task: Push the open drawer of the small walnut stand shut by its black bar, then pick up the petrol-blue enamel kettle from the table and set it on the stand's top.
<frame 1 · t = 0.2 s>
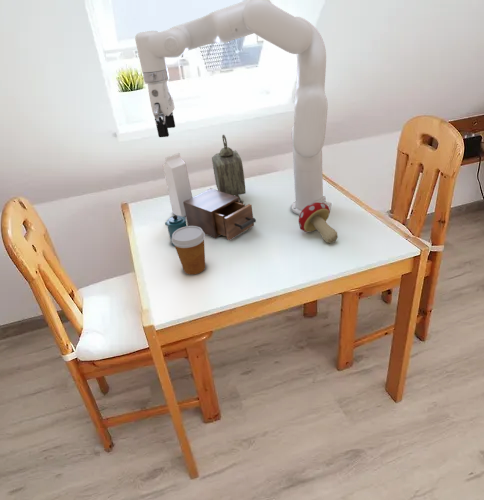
hand: (167, 132, 143), 31 cm above the table, tool pointing down, fingers open, 9 cm apart
kettle: (180, 242, 144), on the table
milk: (184, 213, 162), on the table
disposable coffee cup: (194, 269, 129), on the table
decorative mushroom: (318, 236, 138), on the table
green bell: (232, 200, 167), on the table
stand: (215, 224, 151), on the table
drawer: (230, 218, 144), point 5 cm above the table, slide at 5.0 cm
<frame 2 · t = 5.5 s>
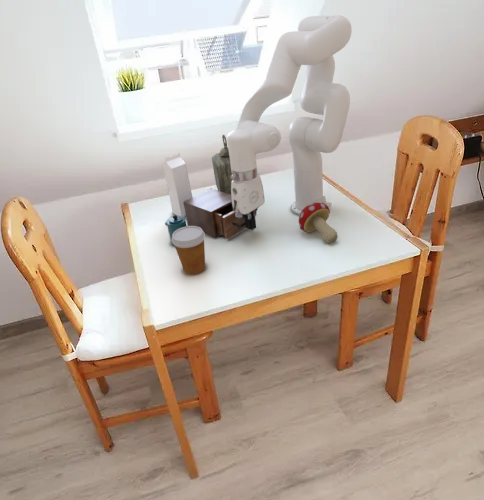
hand: (250, 227, 138), 4 cm above the table, tool pointing down, fingers closed
drawer: (228, 218, 144), point 5 cm above the table, slide at 4.0 cm, touching gripper
everything else where it was.
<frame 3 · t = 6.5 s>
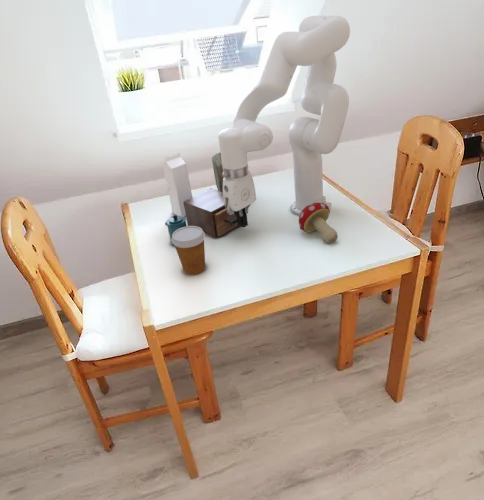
hand: (242, 225, 140), 4 cm above the table, tool pointing down, fingers closed
drawer: (221, 215, 146), point 5 cm above the table, slide at 0.3 cm, touching gripper
everything else where it was.
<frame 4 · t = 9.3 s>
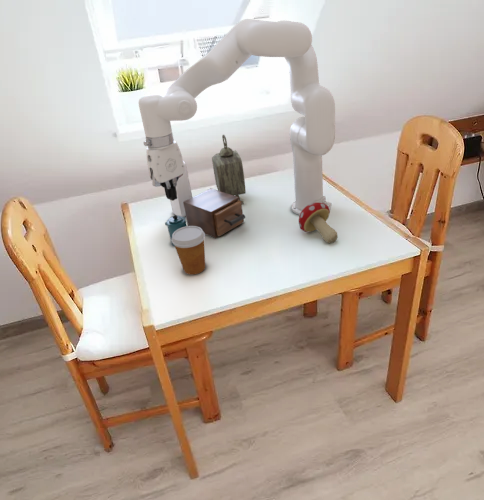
hand: (172, 198, 135), 16 cm above the table, tool pointing down, fingers closed
drawer: (221, 215, 146), point 5 cm above the table, slide at 0.2 cm
everything else where it was.
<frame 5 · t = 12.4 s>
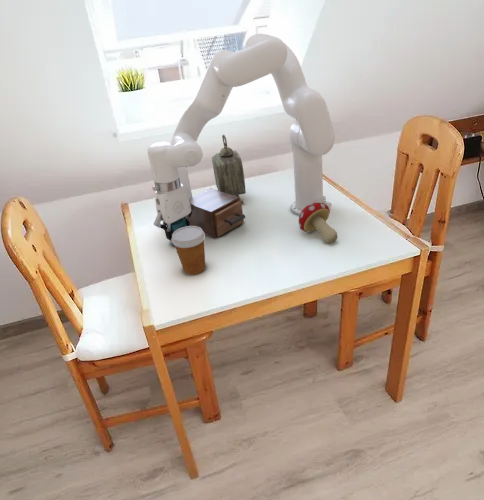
hand: (179, 235, 142), 3 cm above the table, tool pointing down, fingers closed on kettle, 6 cm apart
kettle: (180, 242, 144), on the table, touching gripper
everything else where it was.
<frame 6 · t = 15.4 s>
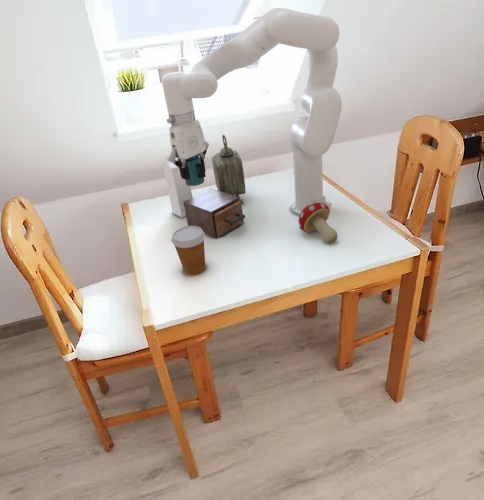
hand: (193, 174, 138), 20 cm above the table, tool pointing down, fingers closed on kettle, 6 cm apart
kettle: (195, 182, 140), point 17 cm above the table, touching gripper
everything else where it was.
when the fingers open (12 cm above the table, at t = 18.4 s): kettle stays where it is, resting on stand.
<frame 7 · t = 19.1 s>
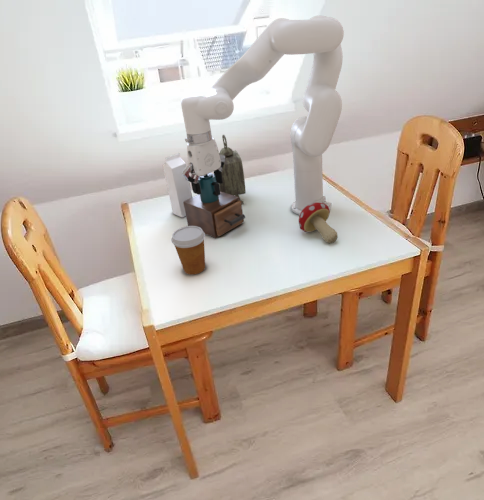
hand: (208, 188, 145), 14 cm above the table, tool pointing down, fingers open, 9 cm apart
kettle: (209, 199, 147), point 10 cm above the table, touching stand
everything else where it was.
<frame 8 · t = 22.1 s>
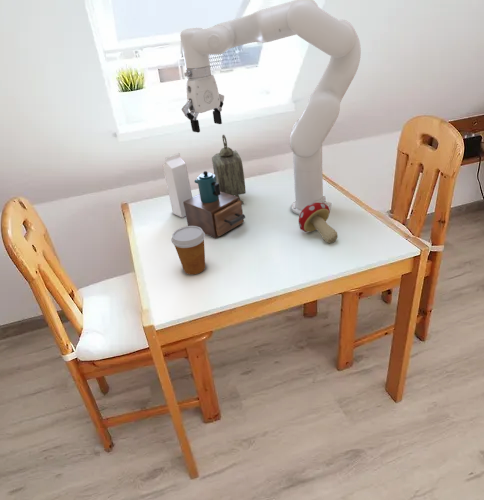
hand: (207, 127, 145), 30 cm above the table, tool pointing down, fingers open, 9 cm apart
nothing on the table moved.
at the end: drawer slide at 0.2 cm; kettle inside the target area on the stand (0.5 cm from its centre), point 9.6 cm above the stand's base; kettle tilted 0° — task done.
